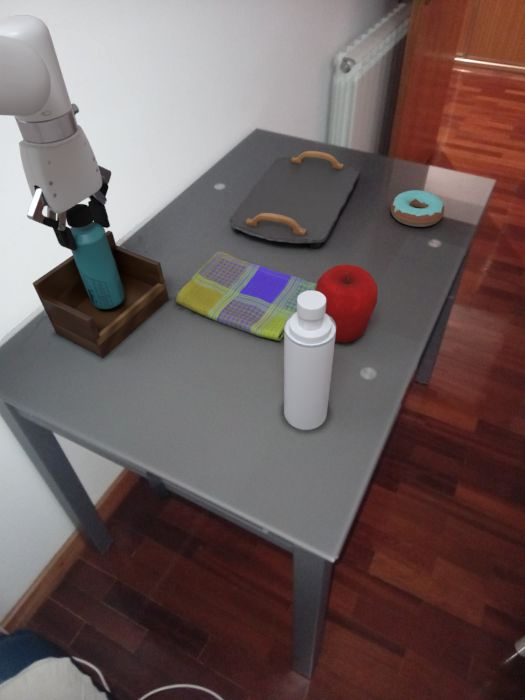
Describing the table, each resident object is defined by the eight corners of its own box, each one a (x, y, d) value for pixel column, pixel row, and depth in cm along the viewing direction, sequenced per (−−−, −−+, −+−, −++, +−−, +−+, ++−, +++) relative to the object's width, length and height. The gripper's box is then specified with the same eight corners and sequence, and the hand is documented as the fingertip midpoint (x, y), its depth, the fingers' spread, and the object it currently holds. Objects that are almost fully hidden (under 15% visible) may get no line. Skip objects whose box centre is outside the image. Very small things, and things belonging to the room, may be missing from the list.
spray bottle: (322, 393, 79) (333, 269, 61) (330, 427, 75) (346, 304, 56) (281, 398, 79) (280, 274, 61) (287, 433, 74) (289, 311, 56)
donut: (447, 209, 115) (452, 193, 112) (434, 235, 108) (439, 219, 105) (398, 198, 119) (400, 183, 116) (382, 223, 112) (385, 207, 109)
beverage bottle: (134, 298, 92) (107, 202, 78) (113, 320, 88) (79, 223, 74) (106, 289, 94) (74, 194, 80) (84, 311, 90) (46, 214, 76)
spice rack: (103, 358, 86) (82, 307, 77) (56, 333, 91) (31, 283, 82) (168, 299, 96) (157, 248, 87) (123, 280, 101) (108, 230, 92)
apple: (369, 356, 84) (381, 295, 75) (310, 350, 86) (314, 290, 76) (370, 314, 92) (381, 254, 82) (315, 310, 93) (319, 250, 83)
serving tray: (280, 162, 134) (280, 139, 129) (364, 175, 128) (367, 151, 123) (221, 239, 110) (219, 215, 105) (321, 260, 103) (323, 235, 99)
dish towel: (276, 350, 86) (275, 338, 84) (169, 303, 96) (167, 292, 93) (322, 293, 96) (323, 282, 94) (222, 256, 105) (220, 245, 103)
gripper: (76, 99, 74) (107, 205, 87) (-24, 144, 64) (28, 257, 77) (112, 108, 71) (139, 217, 84) (14, 156, 61) (61, 271, 74)
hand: (86, 235), depth 80 cm, fingers closed on beverage bottle, 6 cm apart
